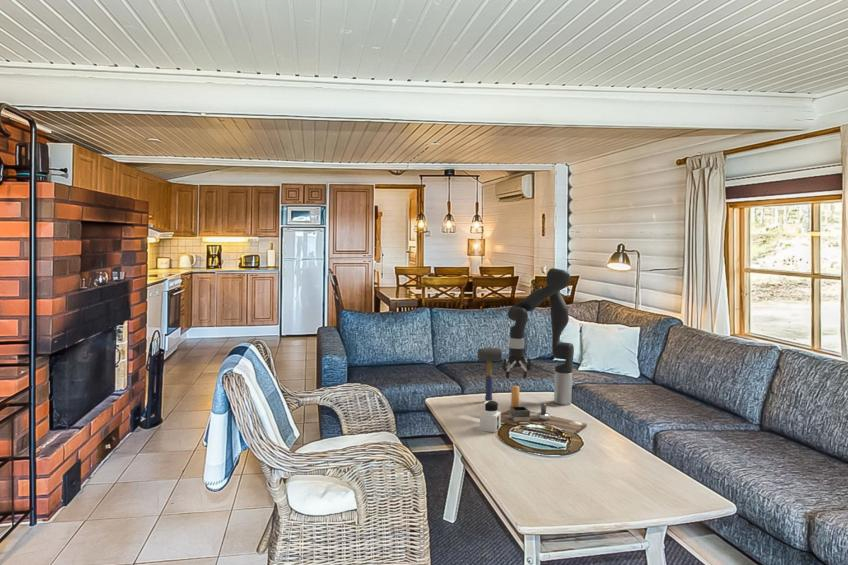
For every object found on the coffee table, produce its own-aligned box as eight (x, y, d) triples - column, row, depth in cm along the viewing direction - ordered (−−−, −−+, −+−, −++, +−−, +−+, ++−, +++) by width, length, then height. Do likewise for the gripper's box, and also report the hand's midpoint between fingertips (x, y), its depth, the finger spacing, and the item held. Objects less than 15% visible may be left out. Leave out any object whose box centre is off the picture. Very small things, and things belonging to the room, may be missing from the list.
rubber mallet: (497, 399, 298) (499, 346, 296) (501, 403, 290) (502, 348, 288) (476, 400, 296) (476, 346, 294) (479, 404, 289) (480, 349, 287)
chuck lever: (546, 415, 265) (546, 401, 264) (552, 420, 257) (552, 406, 257) (509, 416, 262) (509, 402, 262) (514, 422, 255) (514, 407, 254)
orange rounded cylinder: (513, 410, 274) (513, 385, 273) (520, 411, 271) (520, 386, 271) (509, 412, 271) (510, 386, 270) (516, 413, 268) (517, 388, 267)
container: (500, 427, 252) (501, 400, 251) (495, 432, 245) (496, 405, 244) (484, 425, 255) (485, 398, 254) (479, 430, 248) (480, 402, 247)
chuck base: (513, 410, 278) (513, 407, 278) (586, 426, 255) (586, 423, 254) (489, 422, 259) (489, 418, 259) (566, 441, 236) (566, 437, 236)
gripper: (505, 348, 264) (504, 380, 265) (532, 347, 266) (532, 380, 267) (500, 345, 271) (500, 376, 273) (528, 345, 273) (527, 376, 274)
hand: (515, 378), depth 270 cm, fingers open, 8 cm apart
